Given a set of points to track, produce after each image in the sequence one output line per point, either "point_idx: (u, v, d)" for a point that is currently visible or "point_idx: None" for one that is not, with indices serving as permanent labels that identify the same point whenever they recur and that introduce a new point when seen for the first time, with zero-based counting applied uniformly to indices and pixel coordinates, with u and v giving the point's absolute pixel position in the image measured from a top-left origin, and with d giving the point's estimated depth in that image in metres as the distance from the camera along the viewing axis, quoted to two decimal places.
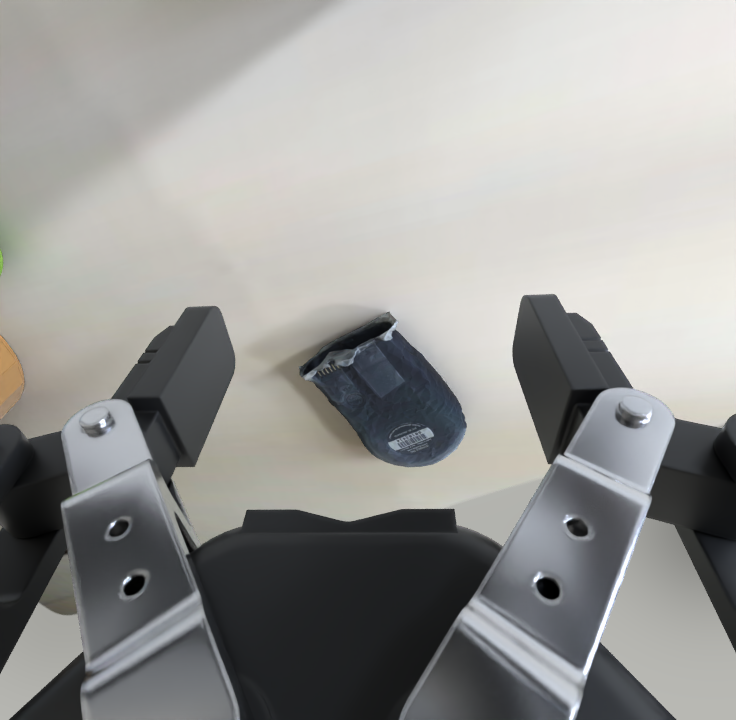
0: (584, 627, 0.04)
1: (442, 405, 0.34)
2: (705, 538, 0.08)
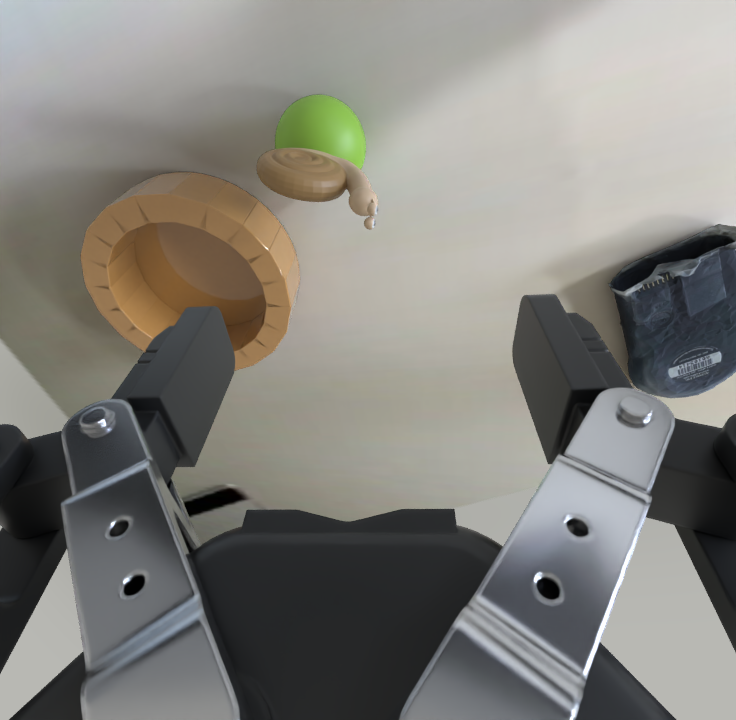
0: (584, 627, 0.04)
1: None
2: (705, 538, 0.08)
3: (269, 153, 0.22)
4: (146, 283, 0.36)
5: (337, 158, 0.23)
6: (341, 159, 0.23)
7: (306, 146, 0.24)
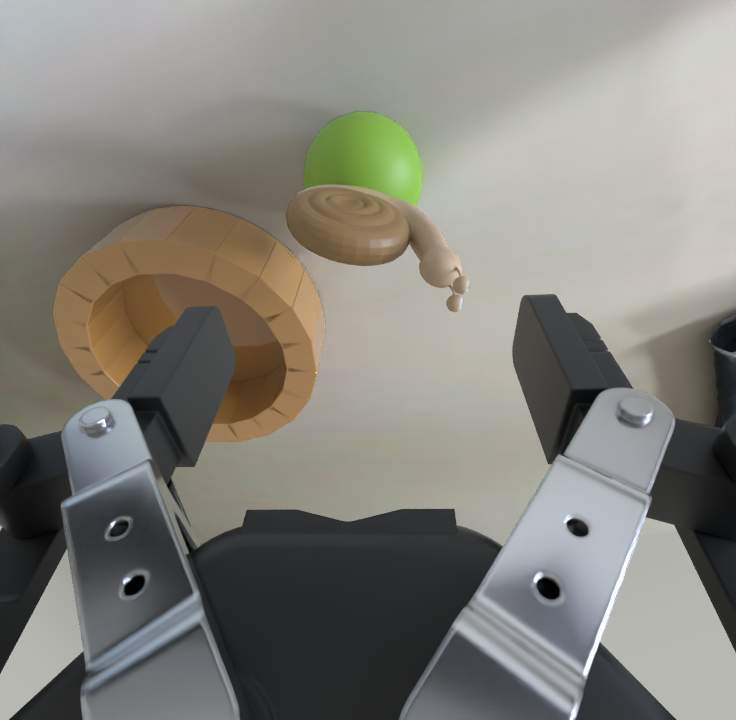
0: (583, 627, 0.04)
1: None
2: (705, 538, 0.08)
3: (304, 197, 0.15)
4: (138, 334, 0.30)
5: (393, 199, 0.17)
6: (399, 200, 0.17)
7: (349, 182, 0.18)
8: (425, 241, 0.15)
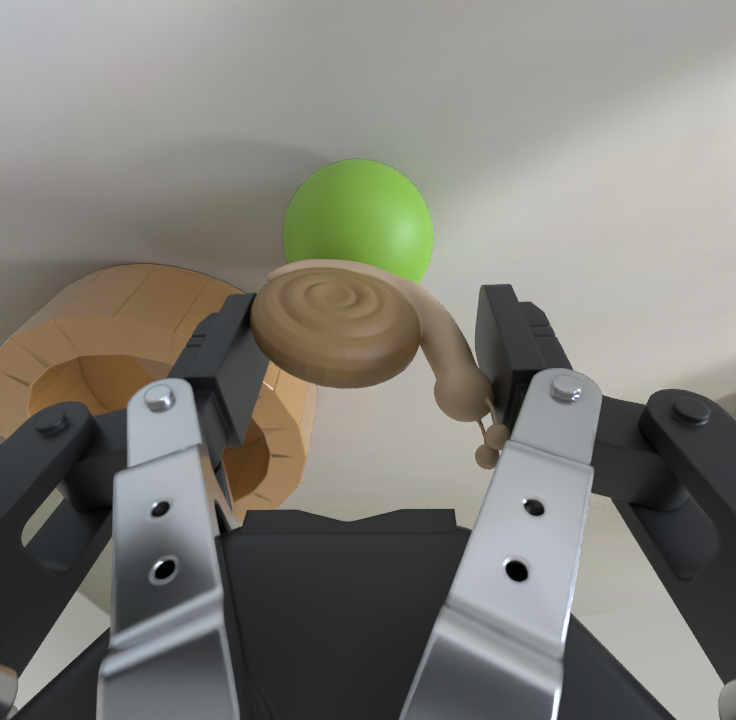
0: (554, 602, 0.05)
1: None
2: (642, 512, 0.08)
3: (274, 290, 0.11)
4: (99, 403, 0.25)
5: (397, 279, 0.13)
6: (404, 282, 0.13)
7: (338, 254, 0.14)
8: (441, 351, 0.11)
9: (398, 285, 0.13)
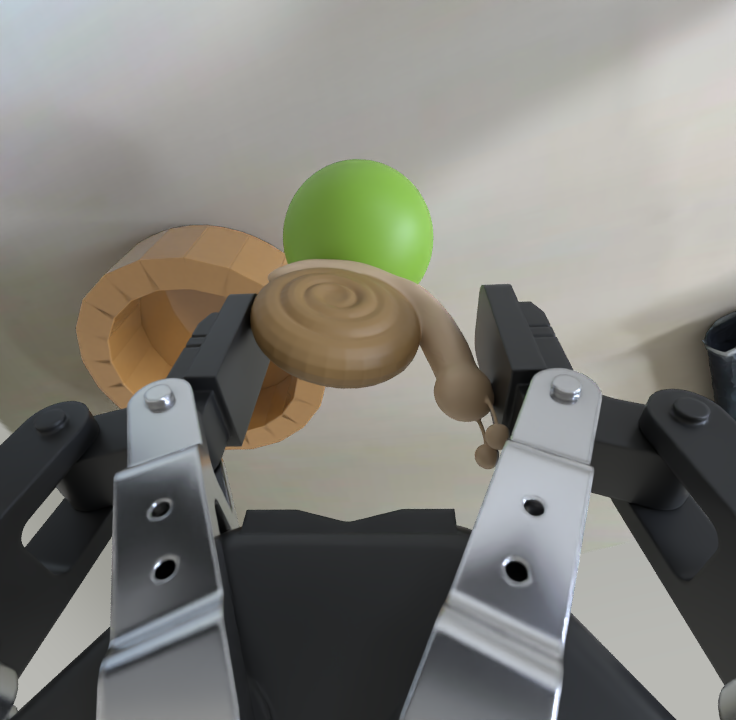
0: (554, 602, 0.05)
1: None
2: (642, 512, 0.08)
3: (275, 290, 0.11)
4: (153, 348, 0.31)
5: (397, 280, 0.13)
6: (404, 282, 0.13)
7: (338, 255, 0.14)
8: (441, 351, 0.11)
9: (398, 285, 0.13)
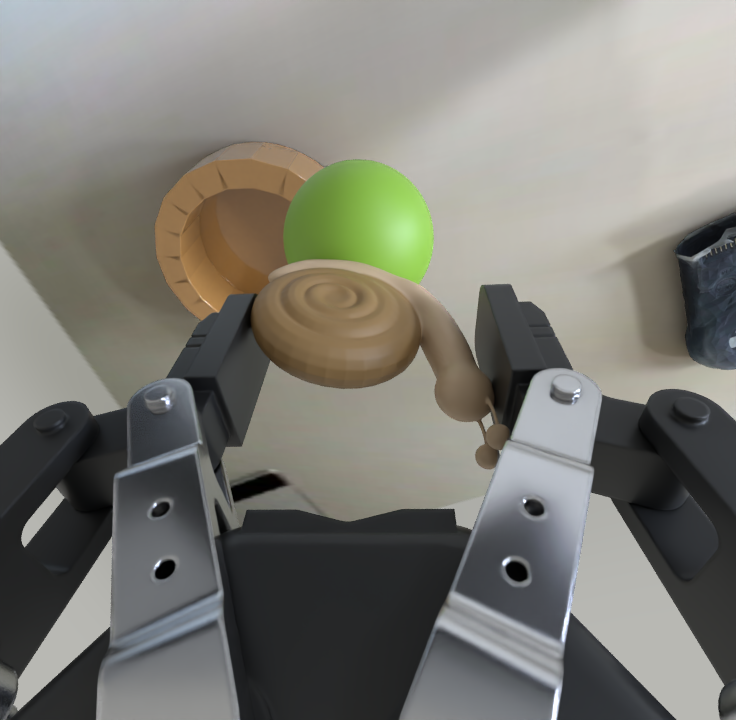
0: (554, 602, 0.05)
1: None
2: (642, 512, 0.08)
3: (275, 290, 0.11)
4: (208, 258, 0.36)
5: (397, 280, 0.13)
6: (404, 282, 0.13)
7: (339, 255, 0.14)
8: (442, 351, 0.11)
9: (398, 285, 0.13)
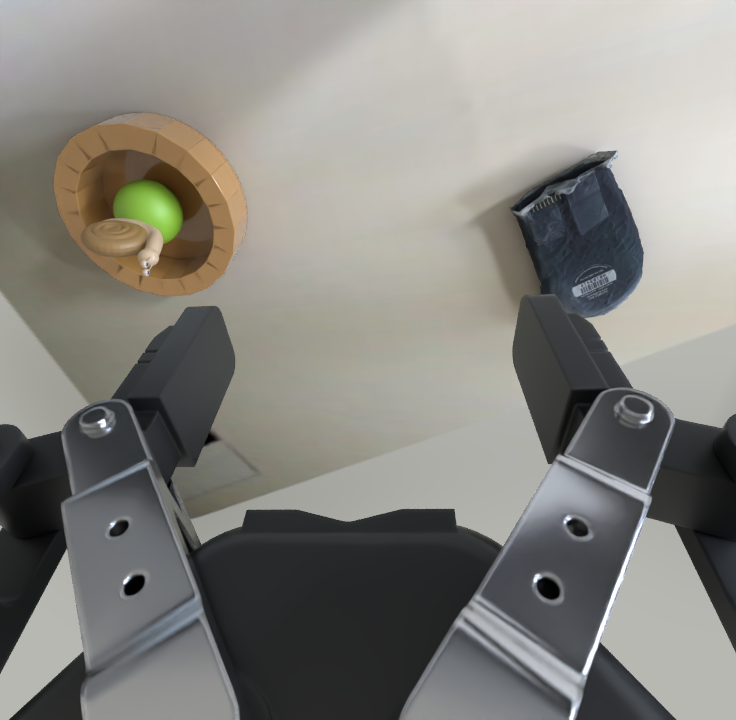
0: (584, 627, 0.04)
1: (633, 243, 0.39)
2: (705, 538, 0.08)
3: (91, 226, 0.33)
4: None
5: (146, 225, 0.35)
6: (148, 226, 0.35)
7: (128, 216, 0.36)
8: (145, 245, 0.33)
9: (145, 227, 0.35)
